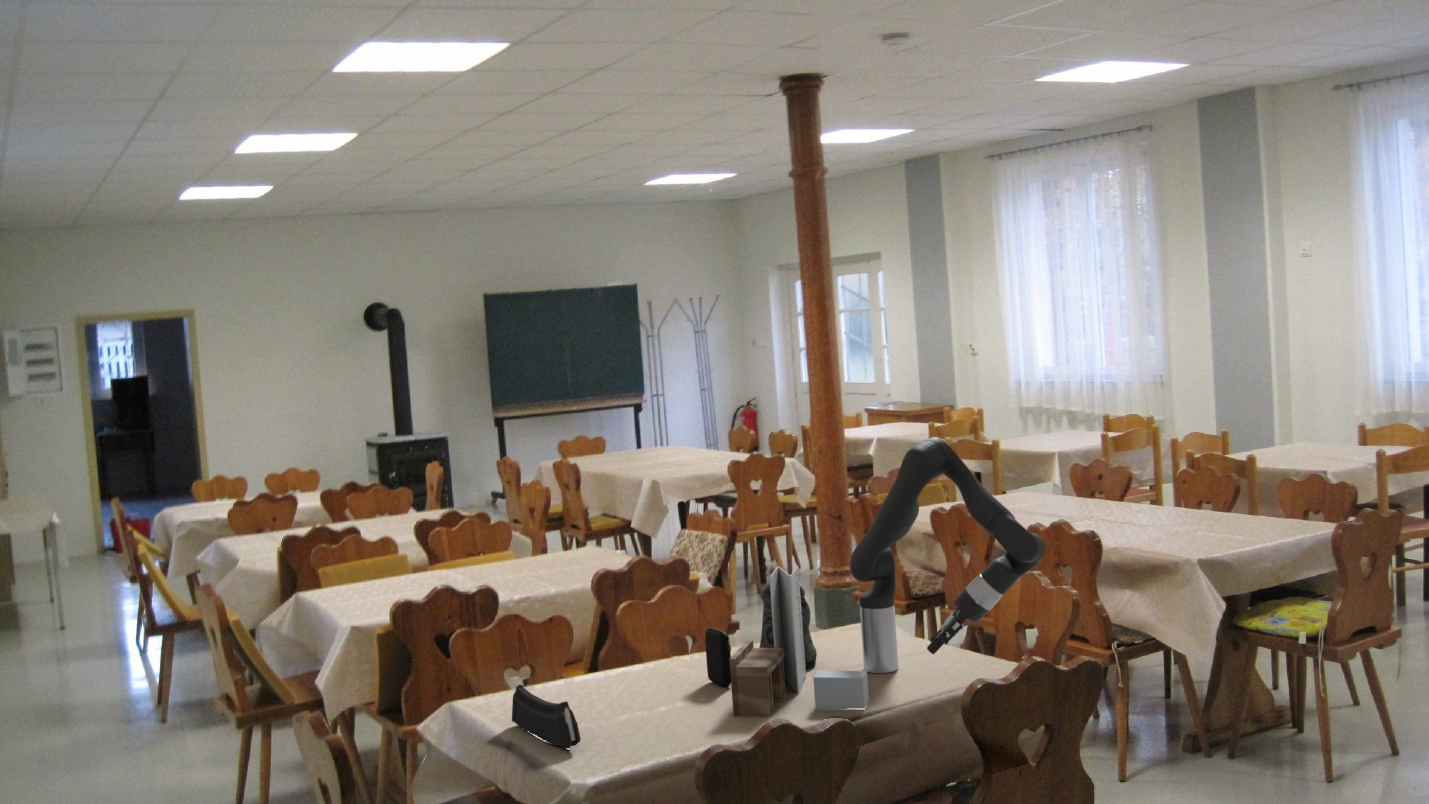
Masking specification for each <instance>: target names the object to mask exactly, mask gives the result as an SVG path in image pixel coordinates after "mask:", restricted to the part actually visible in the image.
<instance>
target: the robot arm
mask: <svg viewBox="0 0 1429 804" xmlns="http://www.w3.org/2000/svg"><path fill="white" fill-rule="evenodd" d="M942 475H945V477H947V478H948V479H950V481H952V482H953V483H954V484H955V486H956V487H957V488H958V491H959V492H960V494H961V497H962V499H963V503H964V505H965V507H966V510H967V511H968V514H969V515H970V516H971V517H972V518H973V520H974V521H975V522H977V524H979V525H980V526H981V528H983V529H984V530H985V531H986V532H987V533H989V535H991V536H992V537H994V538H995V540H996V541H997V542H998V544H999V545H1000V546H1001V547H1002V548H1003V549H1004V550H1005V553H1003V554H1002V555H1001V556H1000V557H998V558H995V559H994V560H992V561H991V562H990V563H989V564H988V565H987V566H986V567H985V568H984V569H983V571H982V572H980V574H978V575H977V576H975V578H973V579H972V581H970V582H969V583H968V585H966V587H965V588H963V590H962V591H961V592H960V593H959V594H958V595H957V596H956V597H955V598H954V599H953V603H954V605H955V606H956V608H955V610H953V611H952V612H951V613H950V614H949V615H948V617H947V618H946V619H945V620H944V622H943V623H942V624H941V626H940V627H939V629H938V631H936V632H935V633H934V635H932V637H931V638H930V640H929V642H930V643H929V644H928V645H927V647H926V650H927V651H928V652H929V653H931V655H935V654H936V653H937V652H938V651H939V650H940V649H941V648H942V647H943V645H947V644H949V642H950V641H951V640H952V639H953V638H954V637H955V636H956V635H957V634H958V633H959V632H960V631H961V630H963V629H964V628H965V627H966V625H967V620H970V621H971V622H973V623H979V622H980V621H981V620H982V619H983V618H984V617H985V616H986V615H987V614H988V613H989V612H990V611H991V610H992V609H993V607H994V606H996V605H997V604H998V602H999V601H1000V600H1001V598H1002V597H1003V596H1004V595H1005V594H1006V592H1008V590H1009V589H1011V587H1012V586H1013V585H1014V584H1015V583H1016V581H1017V580H1019V578H1021V577H1023V576H1024V575H1025V574H1026V573H1027V572H1029V571H1030V570H1031V569H1032V568H1033V567H1035V566H1036V565H1037V564H1038V562H1040V561H1041V560H1042V558H1043V557H1044V555H1045V552H1046V544H1045V541H1044V538H1043V537H1042V536H1040V535H1038V534H1037V533H1034V532H1031V531H1030V530H1028V529H1027V528H1025V526H1023V525H1022V523H1020V522H1019V521H1017V519H1016V517H1015V515H1014V514H1013V513H1012V512H1011V511H1010V510H1009V509H1008V508H1006V506H1004V505H1003V504H1002V503H1001V502H1000V501H999V500H998V499H997V498H996V497H995V496H994V495H992V493H990V492H989V491H988V490H987V488H985V487H984V485H983V484H982V483H981V482H980V481H979V479H978V478H977V477H976V475H974V473H973V472H972V470H970V469H969V467H968V466H967V465H966V464H965V462H964V461H963V460H962V458H961V457H960V456H959V454H957V452H956V451H955V450H954V449H953V448H952V447H951V446H950V444H948V443H947V442H946V441H945V440H944V439H942V438H939V437H936V436H933V437H929V438H927V439H924V440H923V441H921V442H919V443H917V444H916V445H913V446H912V447H910V448H909V449H908V451H906V453H905V455H904V457H903V459H902V461H901V465H900V467H899V470H898V471H897V475H896V478H895V480H894V482H893V484H892V486H891V488H890V489H889V491H888V493H887V495H886V496H885V498H884V500H883V502H882V503H881V505H880V507H879V509H878V512H877V513H876V516H875V517H874V519H873V521H872V523H871V524H870V527H869V528H868V530H867V532H866V533H865V535H864V536H863V537H862V538H861V540H860V541H859V543H858V544H857V545H856V547H855V548H854V550H853V552H852V554H851V557H850V560H849V561H850V562H849V569H850V574H851V575H852V577H853V578H854V579H855V580H856V581H858V582H862V583H863V582H865V583H866V582H873V584H872V586H870V587H869V588H868V589H867V590H866V591H863V592H862V593H861V594H860V595H859V598H858V600H859V615H860V628H861V629H860V630H861V642H862V643H861V644H862V660H863V661H862V662H863V671H867V673H872V674H886V673H887V674H888V673H893V672H895V671H898V670H899V656H898V653H899V652H898V639H897V624H896V623H897V622H896V610H895V598H896V592H897V591H896V590H897V589H896V562H895V561H896V559H895V556H894V552H893V550H892V549H891V547H892V546H893V545H894V544H896V543H897V542H898V541H900V540H902V539H903V538H904V537H905V536H906V535H907V534H908V533H909V531H910V530H911V528H912V527H913V525H914V524H915V522H916V520H917V517H918V515H919V513H920V512H919V511H920V504H919V500H918V499H919V496H920V495H921V493H922V492H923V490H924V489H925V487H926V486H927V485H928V484H929V483H930V482H931V481H933V480H935V479H936V478H939V477H940V476H942Z"/></svg>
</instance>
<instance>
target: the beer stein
mask: <svg viewBox="0 0 1429 804" xmlns="http://www.w3.org/2000/svg"><path fill="white" fill-rule="evenodd" d="M759 595H760V600H761V601H762V603H763V608H762V611H763V612H762V622H761V623H762V624H761V637H760V643H759V647H758V648H774V635H773V621H772V606H771V592H770V583H769V584H767V585H766V586H765V587H764V588H763V589H762V590H761V592H760V594H759ZM800 596H801V611H802V626H803V640H804V655H805V669H806V671H808V670H811V669H812V668H814V667H815V666H816V664H817V663H816V662H817V661H816V660H817V655H818V653H817V649H816V647H815V645H814V642H813V638H812V636H811V632H810V624H811V623H810V622H811V609H810V605H809V603H808V602H807V600H806V598H805V597H806V591H805V589H804V588H803V587H802V586H801V585H800Z"/></svg>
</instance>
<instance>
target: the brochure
mask: <svg viewBox="0 0 1429 804" xmlns="http://www.w3.org/2000/svg"><path fill="white" fill-rule="evenodd" d="M799 567H800V566H799V565H796V566H795V568H794V570H793V572H792V573H791V574H789V573H788V572H786V571H785V570H784V569H783V568H781V567H780V566H779V565H777V567H776V568H775V569H774V570H773V572H772V573H771V574H770V576H769V584H770V592H771V606H772V621H773V635H774V648H782V649H783V652H785V656H784V657H783V664H784V678H785V681H786V680H787V682H788V683H789V684H790V686H791V687H792V688H793V689H794V691H795V692H796V693H797V694H798V695H799V694H800V692H801V690H802V688H803V687H804V684H805V681H806V679H807V673H806V671H807V670H806V669H805V655H804V640H803V626H802V611H801V596H800V586H801V584H800V570H799V569H800V568H799Z"/></svg>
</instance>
